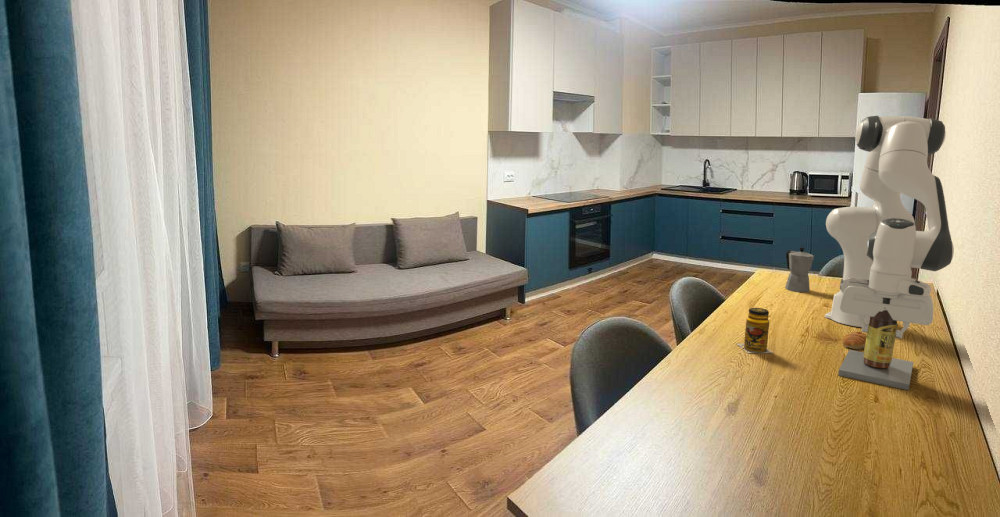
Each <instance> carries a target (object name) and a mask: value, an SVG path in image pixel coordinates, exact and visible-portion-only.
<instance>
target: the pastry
mask: <svg viewBox="0 0 1000 517" xmlns="http://www.w3.org/2000/svg"><path fill="white" fill-rule="evenodd" d="M866 337H867V333H866V334H865V332H861V331H851V332H849V333H847V334H845V335H844V336H843V337H842V346H843V347H844V348H851V349H852V350H853V349H854V350H856V351H859V350H863V349H864V350H865V343H866Z"/></svg>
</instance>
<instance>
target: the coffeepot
mask: <svg viewBox="0 0 1000 517" xmlns="http://www.w3.org/2000/svg"><path fill="white" fill-rule="evenodd" d="M804 250H805V248H804V247H802V246H801V247H799V251H796V250H790V249H789V250H788V251H786V253H785V258H786V268H787V269H788V270H790V273H788V277H787V281H786V283H785V287H784V288H785V289H786V290H787V291H790V292H794V293H809V292H810V291H811V290H810V276H809V272H810V271H811V269H812V265H813V261H814V258H815V255H813V254H811V253H808V252H805V251H804Z"/></svg>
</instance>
